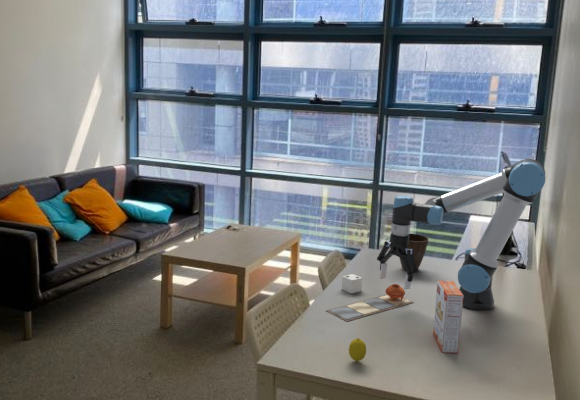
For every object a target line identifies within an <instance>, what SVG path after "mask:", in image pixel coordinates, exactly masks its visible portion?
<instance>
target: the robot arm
mask: <svg viewBox="0 0 580 400" xmlns="http://www.w3.org/2000/svg"><path fill="white" fill-rule="evenodd" d="M545 184H546V171H545V168H544V165H543V164H542V163H541V162H540V161H538V160H536V159H534V158H525V159H521V160H519V161H517V162H515V163H514V164H512V165H510V166H507V167H504V168H503V169H502V171H501V172H499V173H495V174H494V175H491V176H489V177H486V178H484V179H481V180H478V181H476V182H472V183H471V184H470V183H469V184H468V185H464V186H463V187H460V188H457V189H454V190H452V191H449V192H446V193H445V194H442V195H439V196H436V197H432V198H429V199H428V200H426V202H425V203H419V202H414V198H413V197H412V196H409V195H403V194H401V195H396V196H395V197H394V201H393V206H392V214H391V215H392V217H391V227H390V234H389V236H390V237H389V240H386V241H384V243H383V246H382V248H381V250H380V251H379V254H378V256H377V258H376V260H377V261H378V262H379V263H380V266H379V271H380V274H379V275H380V277H379V279H380V280H384V279H386V278H387V271H388V263H387V262H388V260H389V259H390V258H391V257H393V256H396V257H398V258H399V257H400V258H399V260H400V259H402V261H403V264H404V266H405V268H406V270H407V271H406V270H405V271H406V273H405V279H404V280H405V281H404V288H403V289H404V290H409V289H411V285H412V282H413V278H414V275H416V274H418V270H417V267H416V263H415V259H414V255H413V249H407V245H408V243H409V235H408V234H411V222H415V223H420V224H425V225H432V226H433V225H435V226H439V225H441V224H442V222H443V219H444V215H445V214H446V215H447V213H451V212H453V211H455V210H459V209H461V208H464V207H467V206H470V205H473V204H475V203H477V202H481V201H483V200H486V199H489V198H491V197H494V196H497V195H501V194H503V196H502V198H501V200H500V201H499V204H498V206H497V208H496V209H495V211H494V213H493V215H492V217H491V219H490V221H489V223H488V224H487V227H486V228H485V230H484V232H483V234H482V235H481V238H480V240H479V241H478V243H477V245H476V248H467V249H465V253H464V260H463V263H462V265H461V267H460V268H459V269H458V272H457V281H458V283H459V286H460V287H459V288H458V289H459V290H460V291H461V293H462V294H463V296H464V299H463V308H466V309H469V310H475V311H488V310H489V311H490V310H492V309H493V308H494V306H495V299H494V294H493V290H492V285H493V276H494V275H495V272H496V270H497V268H498V267H499V263H498V258H499V256H500V255H501V253H502V251H503V249H504V248H505V245H506V243H507V242H508V239H509V238H510V236H511V234H512V233H513V230H514V229H515V227H516V225H517V223H518V221H519V220H520V218H521V217H522V214H523V212H524V210H525V209H526V207H527V206H528V205H531V204H533V203H534V201H535V200H536V198H537V196H538V194H539V193H540V191H541V190H542V189H543V187H544V186H545ZM403 255H404V256H403Z"/></svg>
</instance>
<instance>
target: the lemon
mask: <svg viewBox="0 0 580 400" xmlns="http://www.w3.org/2000/svg"><path fill="white" fill-rule="evenodd" d="M348 354H349V357H350V358H351V359H352V360H353V361H355V363H357V362H360V361H362V360H364V358H365V357H366V355H367V345H366V343H365V342H364V341H363V340H362V338H359V337H358V338H354V339H353V340H351V342H350V343H349V346H348Z"/></svg>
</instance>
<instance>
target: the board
mask: <svg viewBox="0 0 580 400" xmlns="http://www.w3.org/2000/svg"><path fill="white" fill-rule="evenodd" d="M413 303H414V301H412V300H410V299H408V298H405V297H403V299H402V300H401V298H398V299H393V301H391V297H389V296H388V295H387V294H384V295H380V296H376V297H372V298H368V299H364V300H360V301H357V302H353V303H350V304H346V305H342V306H341V305H340V306H337V307H334V308H331V309H326V310H325V312H328V313H329V314H332V315H333V316H335V317H337V318H339V319H341V320H344V321H345V322H352V321H355V320H358V319H361V318H365V317H368V316H371V315H375V314H378V313H382V312H385V311H390V310H393V309H396V308H400V307H404V306H407V305H410V304H413Z"/></svg>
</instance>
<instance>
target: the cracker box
mask: <svg viewBox="0 0 580 400" xmlns="http://www.w3.org/2000/svg"><path fill="white" fill-rule="evenodd" d="M436 285H437V286H436V297H435V306H434V317H433V318H434V320H433V330H432V336H433V337H434V340H435V342H436V343H437V346H438V347H439V350H440V352H441V353H449V354H458V353H459V345H460V335H461V327H462V318H463V317H462V316H463V308H464V307H463V299H464V296H463V294H462V293H461V291H460V290H459V289H460V288H459V287H458V286H457V284H456V283H455V281H453V280H437V284H436Z"/></svg>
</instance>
